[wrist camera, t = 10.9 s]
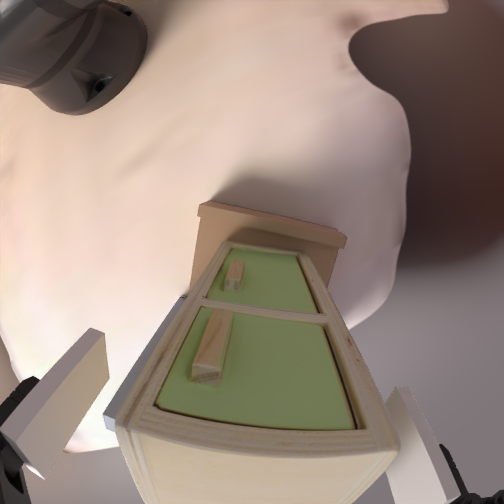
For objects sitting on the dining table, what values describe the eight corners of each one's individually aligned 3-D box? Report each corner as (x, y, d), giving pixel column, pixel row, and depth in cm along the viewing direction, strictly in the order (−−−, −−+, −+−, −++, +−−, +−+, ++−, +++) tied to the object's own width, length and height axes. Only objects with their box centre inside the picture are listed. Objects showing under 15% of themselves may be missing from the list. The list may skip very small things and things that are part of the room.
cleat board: (194, 197, 27) (85, 234, 10) (349, 232, 27) (452, 312, 10) (178, 309, 30) (106, 428, 13) (315, 338, 30) (348, 471, 13)
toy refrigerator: (311, 243, 25) (420, 436, 5) (295, 315, 27) (328, 525, 7) (224, 230, 25) (97, 403, 5) (216, 303, 27) (140, 505, 7)
